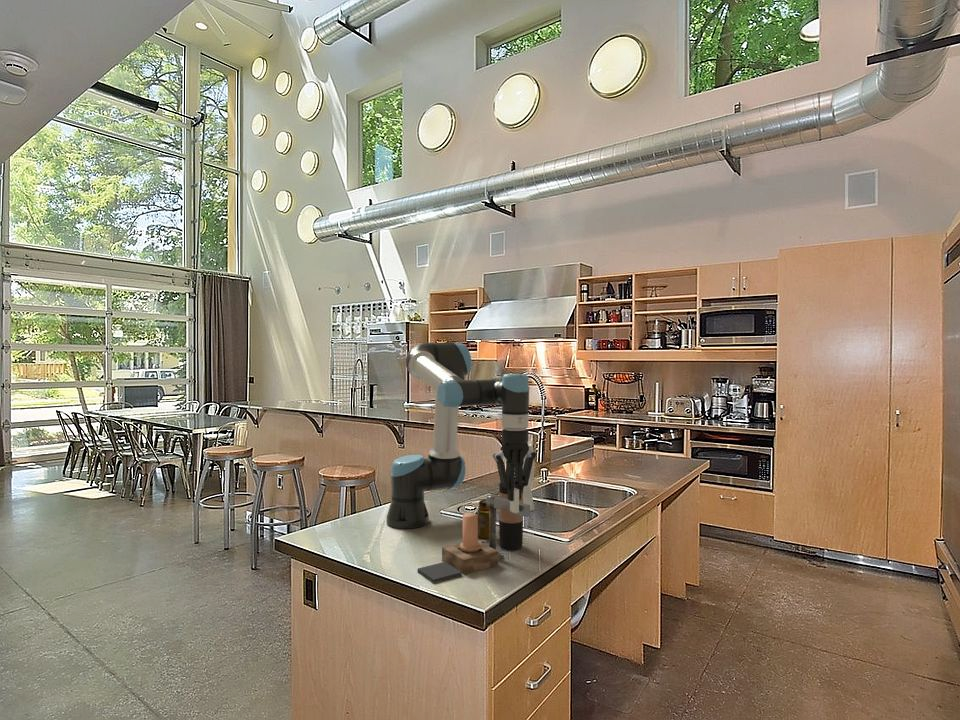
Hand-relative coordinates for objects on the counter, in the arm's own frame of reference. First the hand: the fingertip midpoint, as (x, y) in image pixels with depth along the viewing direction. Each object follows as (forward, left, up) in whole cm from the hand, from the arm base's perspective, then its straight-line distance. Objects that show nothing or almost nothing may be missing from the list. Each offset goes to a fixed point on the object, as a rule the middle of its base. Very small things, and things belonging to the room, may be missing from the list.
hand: (514, 511), depth 162 cm
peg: (-11, -8, -17) cm, 21 cm away
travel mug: (-15, +10, -17) cm, 25 cm away
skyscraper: (-43, +38, -17) cm, 60 cm away
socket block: (-11, -6, -17) cm, 21 cm away
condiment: (-27, +8, -17) cm, 33 cm away
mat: (-9, -19, -17) cm, 27 cm away
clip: (-5, +1, -1) cm, 5 cm away
